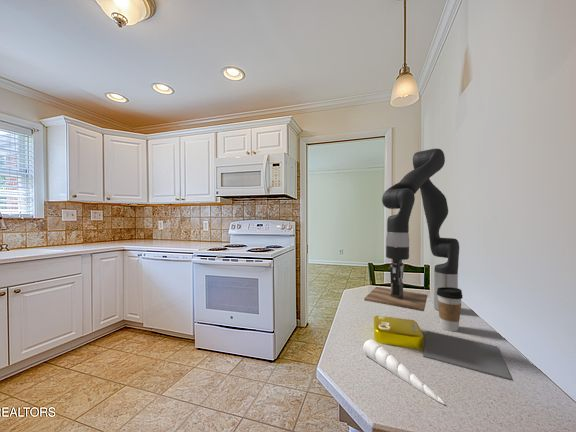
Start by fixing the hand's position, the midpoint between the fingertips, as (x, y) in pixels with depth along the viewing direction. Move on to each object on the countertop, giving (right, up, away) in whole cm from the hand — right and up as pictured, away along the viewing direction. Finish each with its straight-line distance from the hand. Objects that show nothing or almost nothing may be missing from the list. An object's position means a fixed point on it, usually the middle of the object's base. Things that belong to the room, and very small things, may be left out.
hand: (396, 293), depth 89 cm
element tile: (0, -16, 0) cm, 16 cm away
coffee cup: (+23, -16, +7) cm, 29 cm away
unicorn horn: (-9, -15, -22) cm, 28 cm away
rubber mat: (+16, -15, -10) cm, 24 cm away
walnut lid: (0, -2, 0) cm, 2 cm away
